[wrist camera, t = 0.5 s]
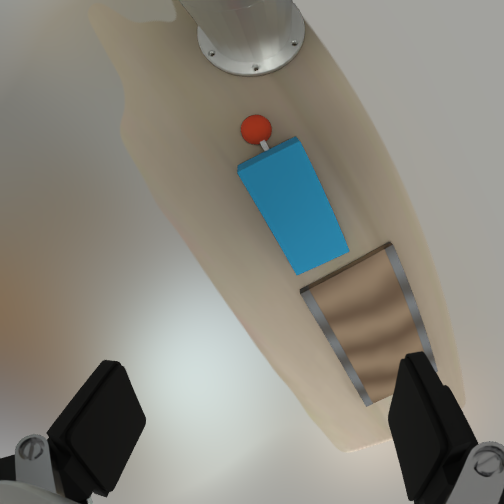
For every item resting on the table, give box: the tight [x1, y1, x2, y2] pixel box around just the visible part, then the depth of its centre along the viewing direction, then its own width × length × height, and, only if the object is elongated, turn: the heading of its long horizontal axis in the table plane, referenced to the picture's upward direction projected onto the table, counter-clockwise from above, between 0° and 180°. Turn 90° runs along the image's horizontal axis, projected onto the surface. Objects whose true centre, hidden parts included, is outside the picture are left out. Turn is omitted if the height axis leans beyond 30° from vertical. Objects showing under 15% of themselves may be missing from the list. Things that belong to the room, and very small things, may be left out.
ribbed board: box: [300, 242, 438, 407], centre depth 40 cm, size 24×13×1 cm, turn 32°
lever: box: [237, 115, 349, 275], centre depth 35 cm, size 7×7×18 cm
